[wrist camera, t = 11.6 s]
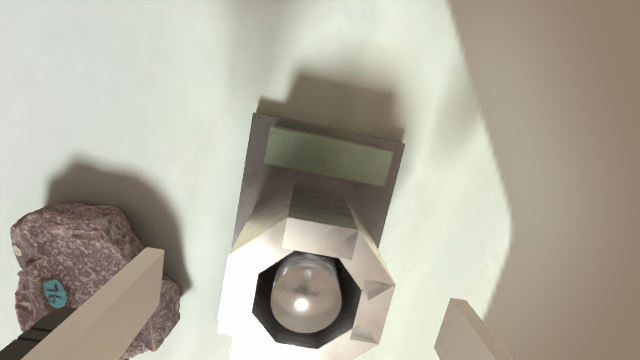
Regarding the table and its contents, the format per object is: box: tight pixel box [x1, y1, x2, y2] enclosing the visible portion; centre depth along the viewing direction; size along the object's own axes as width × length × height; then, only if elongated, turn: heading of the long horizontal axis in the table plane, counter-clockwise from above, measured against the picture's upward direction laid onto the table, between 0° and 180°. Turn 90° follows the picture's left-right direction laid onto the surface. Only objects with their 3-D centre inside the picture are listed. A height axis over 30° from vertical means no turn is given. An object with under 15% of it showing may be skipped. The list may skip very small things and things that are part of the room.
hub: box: [218, 183, 395, 360], centre depth 19 cm, size 8×8×7 cm
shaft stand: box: [218, 113, 405, 360], centre depth 19 cm, size 16×10×8 cm, turn 168°
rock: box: [10, 202, 180, 360], centre depth 21 cm, size 8×11×5 cm
